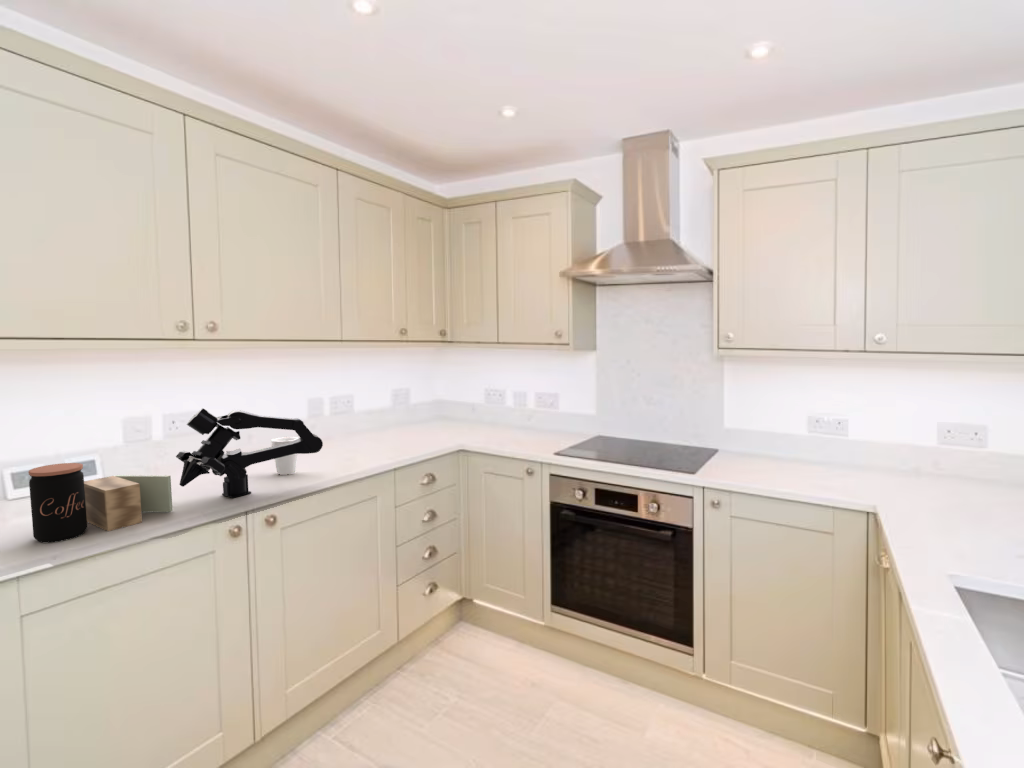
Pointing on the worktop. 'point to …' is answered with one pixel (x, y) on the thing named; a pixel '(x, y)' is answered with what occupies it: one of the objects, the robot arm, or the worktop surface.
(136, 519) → the cabinet
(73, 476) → the coffee jar
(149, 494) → the door
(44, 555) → the worktop surface
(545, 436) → the worktop surface
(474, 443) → the worktop surface
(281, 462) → the foam cup
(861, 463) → the worktop surface
